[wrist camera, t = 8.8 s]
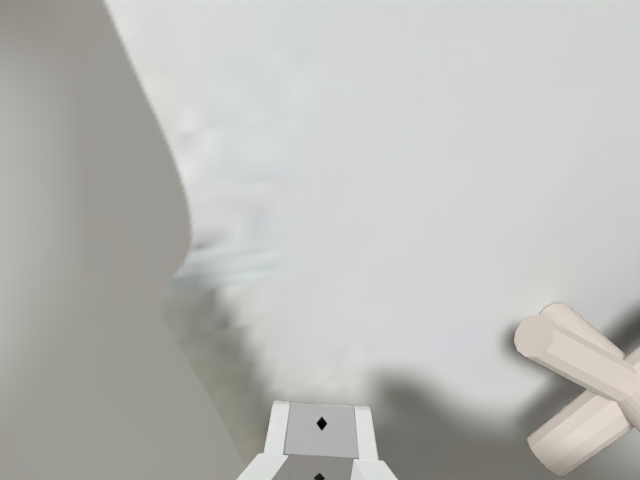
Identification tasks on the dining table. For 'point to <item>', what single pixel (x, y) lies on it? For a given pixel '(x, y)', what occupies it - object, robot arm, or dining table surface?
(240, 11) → the dining table surface
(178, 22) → the dining table surface
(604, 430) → the beige crossed rods piece
